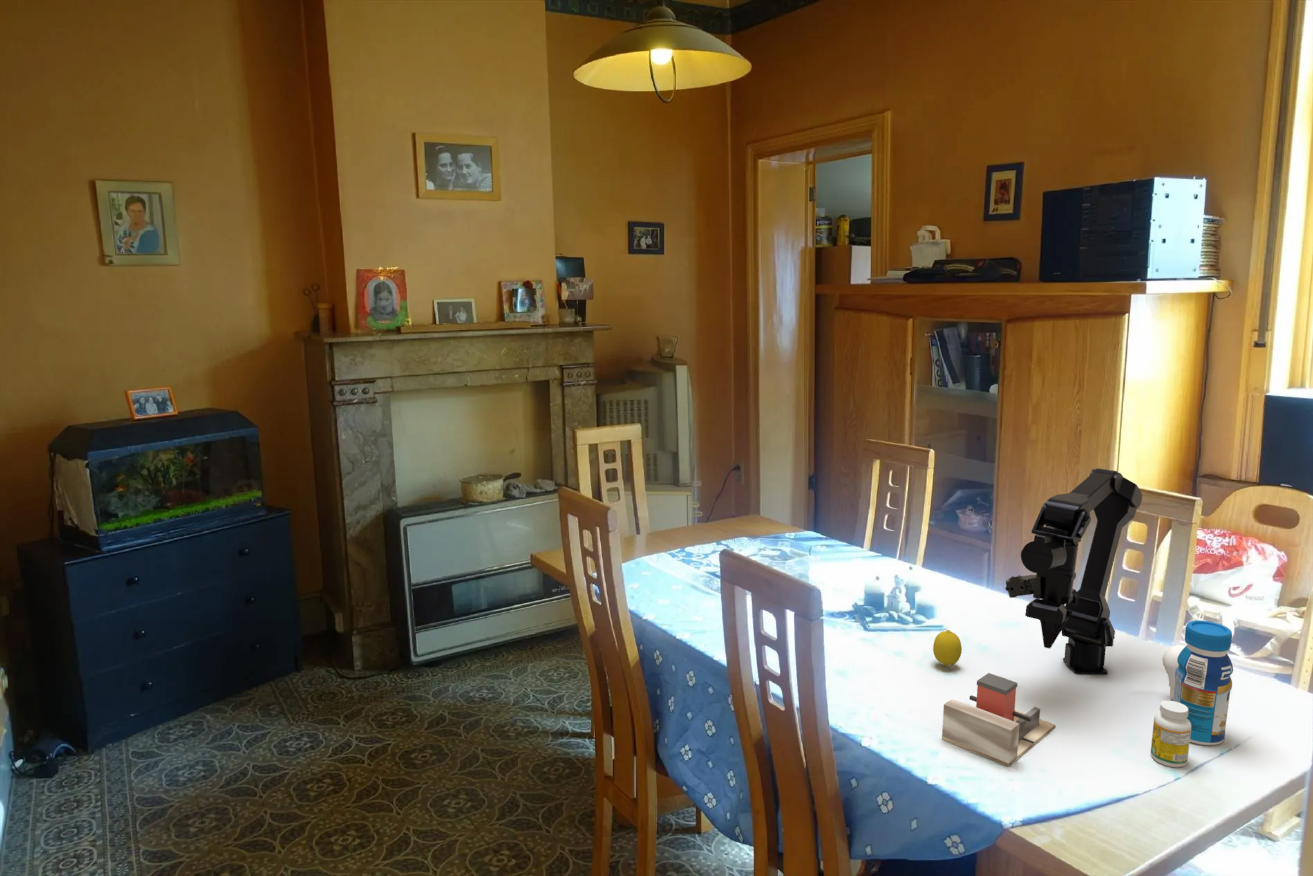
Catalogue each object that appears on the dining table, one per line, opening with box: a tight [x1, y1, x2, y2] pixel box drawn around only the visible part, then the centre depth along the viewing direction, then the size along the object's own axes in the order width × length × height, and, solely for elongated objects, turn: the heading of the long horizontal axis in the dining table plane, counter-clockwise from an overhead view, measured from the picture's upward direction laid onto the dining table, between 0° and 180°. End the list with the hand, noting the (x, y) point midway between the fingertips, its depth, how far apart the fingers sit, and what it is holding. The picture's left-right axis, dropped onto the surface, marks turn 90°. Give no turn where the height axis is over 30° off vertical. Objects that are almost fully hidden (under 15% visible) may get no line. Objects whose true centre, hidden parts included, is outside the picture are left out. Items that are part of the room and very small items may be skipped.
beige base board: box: [941, 698, 1056, 768], centre depth 154 cm, size 18×12×7 cm, turn 133°
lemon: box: [932, 629, 963, 668], centre depth 180 cm, size 6×6×8 cm
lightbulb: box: [1161, 644, 1187, 700], centre depth 164 cm, size 6×6×11 cm
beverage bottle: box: [1172, 619, 1234, 746], centre depth 152 cm, size 8×8×20 cm
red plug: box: [969, 672, 1032, 722], centre depth 152 cm, size 4×11×10 cm, turn 43°
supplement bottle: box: [1150, 700, 1191, 768], centre depth 145 cm, size 5×5×10 cm
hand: (1047, 647), depth 165 cm, fingers closed
